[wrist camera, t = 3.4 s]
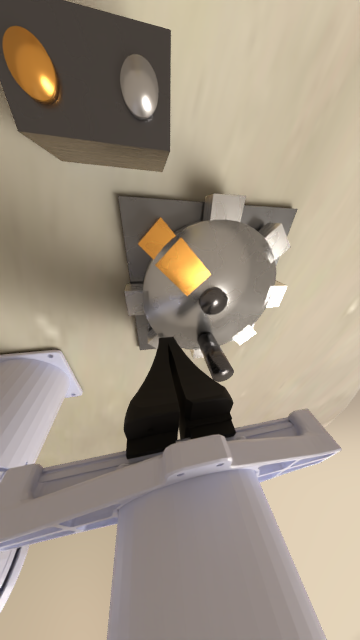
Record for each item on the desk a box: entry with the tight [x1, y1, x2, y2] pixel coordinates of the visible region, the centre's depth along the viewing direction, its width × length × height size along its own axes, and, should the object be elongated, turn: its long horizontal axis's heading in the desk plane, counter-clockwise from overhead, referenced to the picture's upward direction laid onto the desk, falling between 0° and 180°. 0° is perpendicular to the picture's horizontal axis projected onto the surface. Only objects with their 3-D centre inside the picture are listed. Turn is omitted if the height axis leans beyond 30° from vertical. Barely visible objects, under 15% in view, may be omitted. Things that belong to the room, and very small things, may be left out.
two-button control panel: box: [0, 0, 171, 172], centre depth 7 cm, size 6×3×4 cm, turn 87°
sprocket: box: [124, 193, 290, 382], centre depth 12 cm, size 15×15×6 cm
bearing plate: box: [118, 196, 297, 350], centre depth 15 cm, size 14×14×1 cm
